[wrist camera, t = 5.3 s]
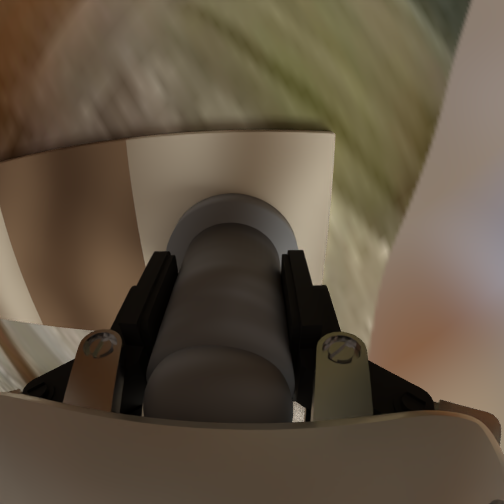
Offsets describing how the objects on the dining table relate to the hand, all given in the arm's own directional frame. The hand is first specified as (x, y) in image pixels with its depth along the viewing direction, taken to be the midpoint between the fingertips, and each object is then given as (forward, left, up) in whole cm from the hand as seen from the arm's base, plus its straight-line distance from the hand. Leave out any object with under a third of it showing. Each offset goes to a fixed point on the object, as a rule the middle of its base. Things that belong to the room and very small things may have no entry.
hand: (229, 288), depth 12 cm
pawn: (0, 0, -2) cm, 2 cm away
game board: (+12, 0, -3) cm, 12 cm away
